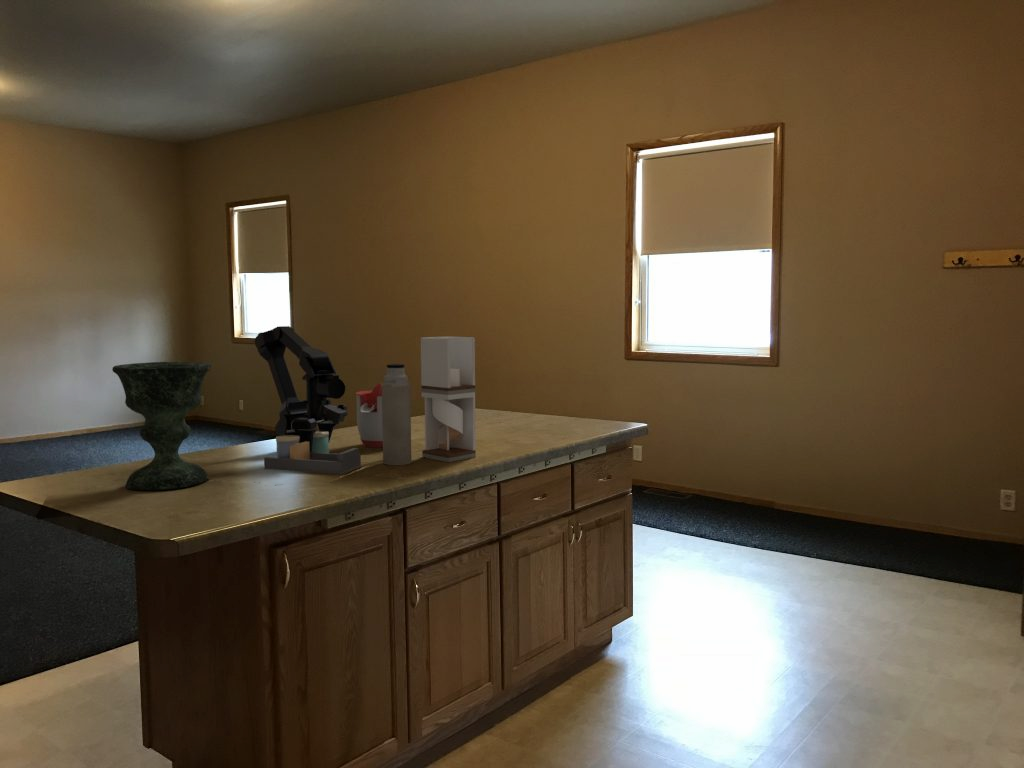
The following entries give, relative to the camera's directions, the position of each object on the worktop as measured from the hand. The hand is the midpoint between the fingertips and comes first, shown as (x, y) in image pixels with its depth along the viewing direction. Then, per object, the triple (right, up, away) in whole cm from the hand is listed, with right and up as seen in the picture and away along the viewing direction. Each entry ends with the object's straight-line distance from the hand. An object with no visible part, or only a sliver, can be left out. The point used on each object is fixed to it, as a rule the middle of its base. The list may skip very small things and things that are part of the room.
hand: (317, 449), depth 239 cm
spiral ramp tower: (+38, -3, +3) cm, 38 cm away
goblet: (-30, -6, -31) cm, 44 cm away
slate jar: (-5, -3, -13) cm, 14 cm away
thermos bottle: (+24, -3, -5) cm, 24 cm away
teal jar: (0, -3, 0) cm, 3 cm away
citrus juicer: (+14, -1, +23) cm, 27 cm away
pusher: (-1, -3, -14) cm, 14 cm away
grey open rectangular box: (+2, -4, -15) cm, 16 cm away
